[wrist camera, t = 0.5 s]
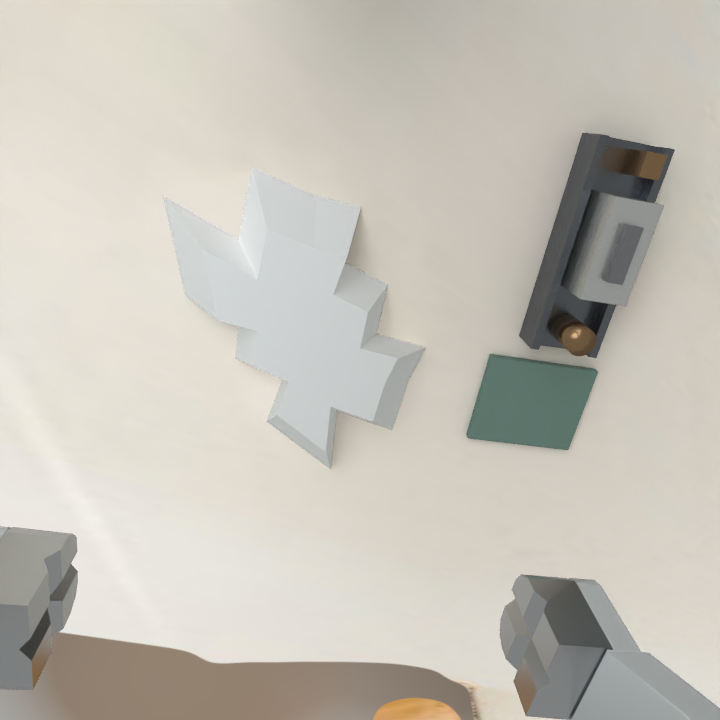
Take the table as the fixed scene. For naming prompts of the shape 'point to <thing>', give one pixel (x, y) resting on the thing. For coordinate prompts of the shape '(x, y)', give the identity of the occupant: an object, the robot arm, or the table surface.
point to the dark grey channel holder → (589, 172)
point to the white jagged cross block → (298, 308)
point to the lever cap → (610, 247)
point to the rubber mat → (530, 402)
